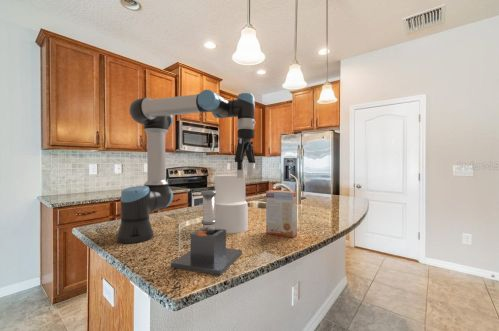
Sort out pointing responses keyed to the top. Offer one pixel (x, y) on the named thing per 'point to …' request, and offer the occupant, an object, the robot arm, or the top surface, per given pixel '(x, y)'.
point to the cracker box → (281, 213)
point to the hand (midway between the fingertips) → (245, 177)
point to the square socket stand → (208, 253)
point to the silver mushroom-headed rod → (208, 212)
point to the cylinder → (231, 203)
